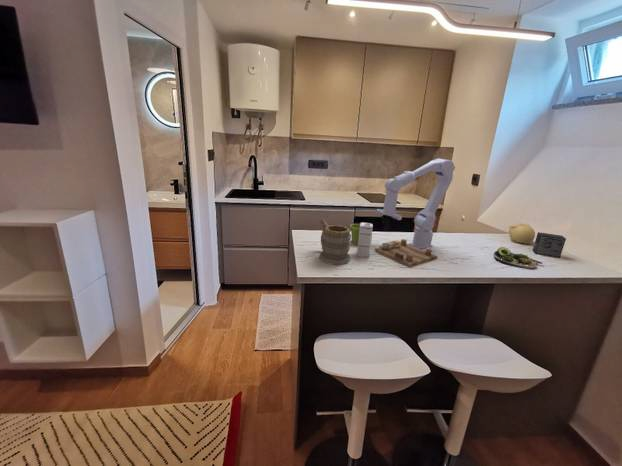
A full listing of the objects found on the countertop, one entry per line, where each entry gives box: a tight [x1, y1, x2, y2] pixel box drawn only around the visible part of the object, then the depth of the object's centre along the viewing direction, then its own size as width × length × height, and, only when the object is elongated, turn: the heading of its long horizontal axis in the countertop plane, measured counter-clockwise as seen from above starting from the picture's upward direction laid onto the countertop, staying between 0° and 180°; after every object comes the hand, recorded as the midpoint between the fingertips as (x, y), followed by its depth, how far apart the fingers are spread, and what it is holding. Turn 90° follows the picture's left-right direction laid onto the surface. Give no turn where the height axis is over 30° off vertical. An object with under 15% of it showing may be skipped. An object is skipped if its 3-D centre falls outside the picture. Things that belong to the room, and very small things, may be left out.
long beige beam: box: [381, 239, 401, 250], centre depth 139 cm, size 12×3×2 cm, turn 125°
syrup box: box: [356, 222, 374, 258], centre depth 131 cm, size 6×6×14 cm
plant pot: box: [349, 223, 360, 245], centre depth 147 cm, size 9×9×9 cm
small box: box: [531, 232, 567, 259], centre depth 147 cm, size 11×6×10 cm, turn 65°
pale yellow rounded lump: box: [508, 222, 536, 245], centre depth 165 cm, size 11×12×11 cm
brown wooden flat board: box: [374, 238, 438, 268], centre depth 135 cm, size 20×20×4 cm
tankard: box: [319, 218, 352, 266], centre depth 127 cm, size 20×13×15 cm, turn 27°
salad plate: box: [493, 246, 543, 269], centre depth 136 cm, size 19×18×5 cm
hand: (386, 230), depth 145 cm, fingers closed
